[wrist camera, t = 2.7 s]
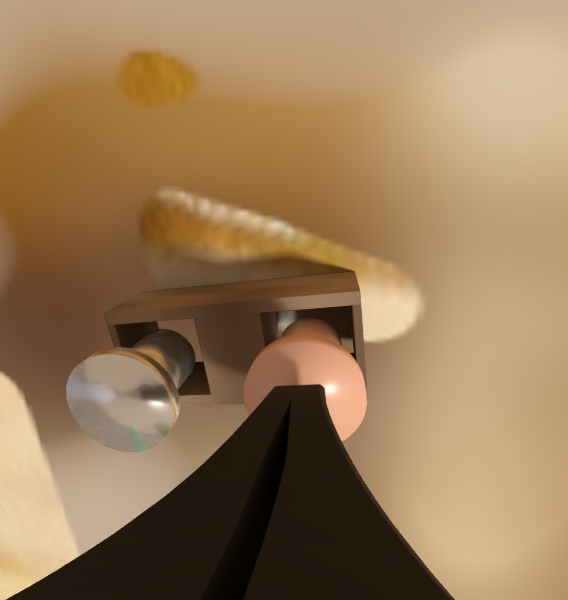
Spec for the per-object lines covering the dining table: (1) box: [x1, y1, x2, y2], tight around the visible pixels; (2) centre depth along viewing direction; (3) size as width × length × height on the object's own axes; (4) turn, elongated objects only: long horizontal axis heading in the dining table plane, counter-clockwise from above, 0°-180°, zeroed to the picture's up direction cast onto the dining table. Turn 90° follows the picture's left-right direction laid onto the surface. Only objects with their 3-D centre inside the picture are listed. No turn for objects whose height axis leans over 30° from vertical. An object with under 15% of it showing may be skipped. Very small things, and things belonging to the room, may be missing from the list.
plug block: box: [104, 271, 368, 406], centre depth 15 cm, size 10×4×3 cm, turn 98°
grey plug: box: [66, 329, 195, 452], centre depth 13 cm, size 4×4×4 cm
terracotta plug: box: [244, 318, 367, 441], centre depth 12 cm, size 4×4×4 cm
